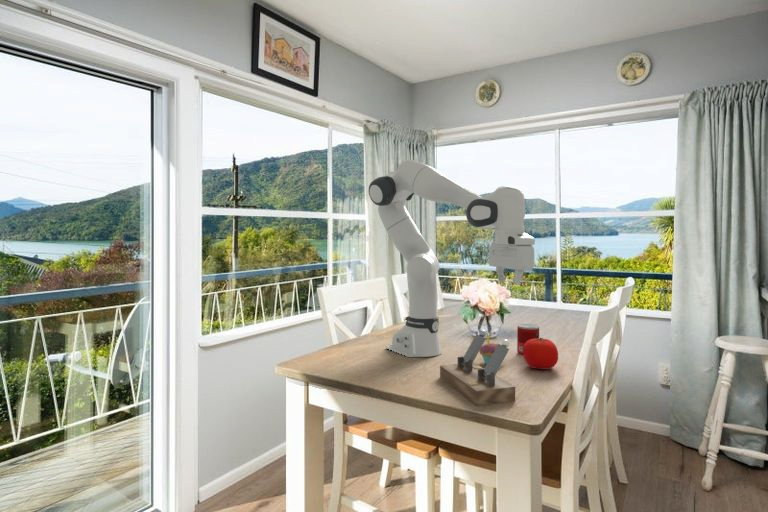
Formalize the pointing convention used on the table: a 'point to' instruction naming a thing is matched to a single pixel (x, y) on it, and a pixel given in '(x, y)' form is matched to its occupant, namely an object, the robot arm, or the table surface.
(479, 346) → the grey knob lever
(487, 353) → the cupcake
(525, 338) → the canned food
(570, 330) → the table surface
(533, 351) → the tomato
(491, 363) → the cream knob lever
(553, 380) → the table surface
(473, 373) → the switch box
